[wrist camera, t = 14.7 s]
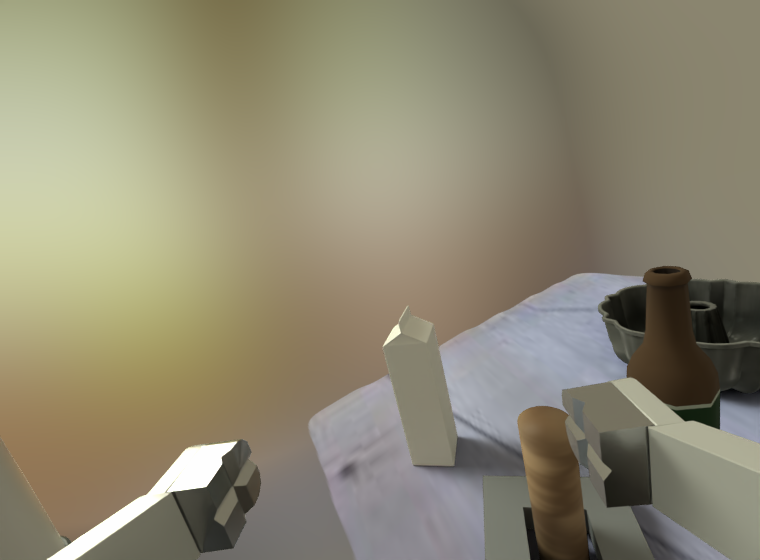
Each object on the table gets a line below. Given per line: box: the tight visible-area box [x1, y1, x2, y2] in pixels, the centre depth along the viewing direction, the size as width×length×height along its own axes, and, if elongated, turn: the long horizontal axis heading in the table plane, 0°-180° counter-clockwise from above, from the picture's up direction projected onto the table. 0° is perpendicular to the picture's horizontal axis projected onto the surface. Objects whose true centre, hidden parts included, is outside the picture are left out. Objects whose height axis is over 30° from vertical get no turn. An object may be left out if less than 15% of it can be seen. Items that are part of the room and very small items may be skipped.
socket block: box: [483, 476, 655, 560], centre depth 34 cm, size 14×14×3 cm
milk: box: [383, 306, 458, 466], centre depth 49 cm, size 6×6×22 cm
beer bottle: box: [627, 266, 720, 430], centre depth 38 cm, size 8×8×24 cm
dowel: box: [518, 406, 590, 560], centre depth 32 cm, size 4×4×16 cm
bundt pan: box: [598, 279, 760, 393], centre depth 56 cm, size 26×26×10 cm
